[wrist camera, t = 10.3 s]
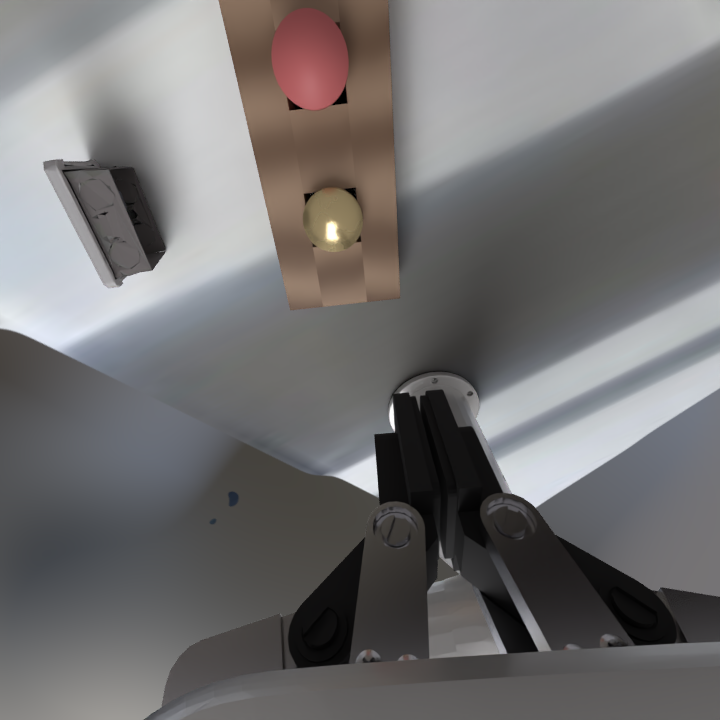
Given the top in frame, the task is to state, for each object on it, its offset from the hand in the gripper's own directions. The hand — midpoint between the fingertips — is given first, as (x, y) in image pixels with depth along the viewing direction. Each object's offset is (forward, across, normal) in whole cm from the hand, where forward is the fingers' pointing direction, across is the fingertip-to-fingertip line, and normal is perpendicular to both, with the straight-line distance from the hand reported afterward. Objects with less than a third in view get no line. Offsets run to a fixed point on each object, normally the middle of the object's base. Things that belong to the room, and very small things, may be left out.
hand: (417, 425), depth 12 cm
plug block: (+27, +4, -10) cm, 29 cm away
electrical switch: (+27, +23, -7) cm, 36 cm away
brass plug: (+27, +4, -5) cm, 28 cm away
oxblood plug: (+26, +4, -15) cm, 30 cm away
